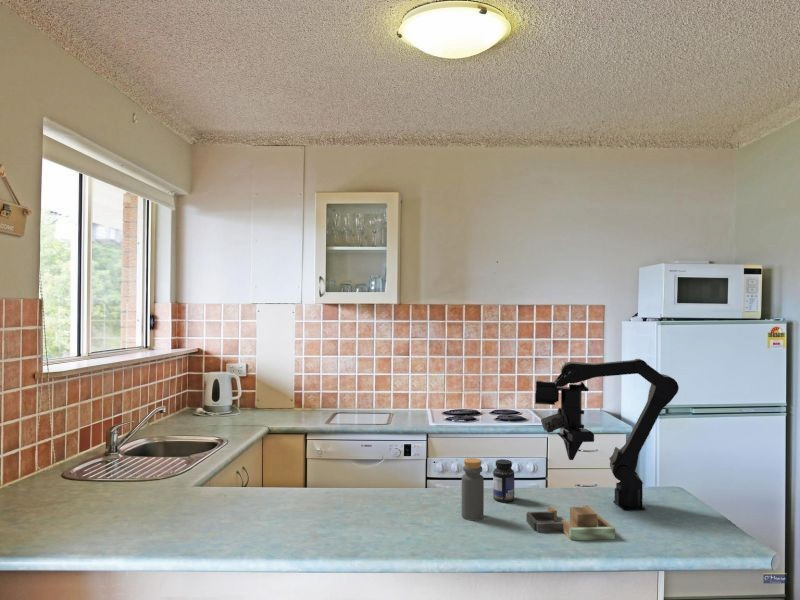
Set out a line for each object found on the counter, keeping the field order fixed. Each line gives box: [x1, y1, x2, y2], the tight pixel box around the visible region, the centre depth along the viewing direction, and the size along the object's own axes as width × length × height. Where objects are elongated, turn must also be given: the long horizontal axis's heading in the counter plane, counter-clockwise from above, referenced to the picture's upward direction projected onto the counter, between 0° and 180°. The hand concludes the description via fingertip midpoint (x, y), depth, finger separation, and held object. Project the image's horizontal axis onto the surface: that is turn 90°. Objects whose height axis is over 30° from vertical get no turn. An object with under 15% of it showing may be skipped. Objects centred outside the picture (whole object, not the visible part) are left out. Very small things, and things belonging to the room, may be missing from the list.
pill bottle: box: [492, 458, 515, 503], centre depth 166 cm, size 6×6×11 cm
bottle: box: [461, 457, 485, 521], centre depth 152 cm, size 6×6×15 cm
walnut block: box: [569, 506, 598, 528], centre depth 143 cm, size 5×5×5 cm
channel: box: [525, 504, 616, 541], centre depth 145 cm, size 18×16×2 cm
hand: (570, 459), depth 164 cm, fingers closed
